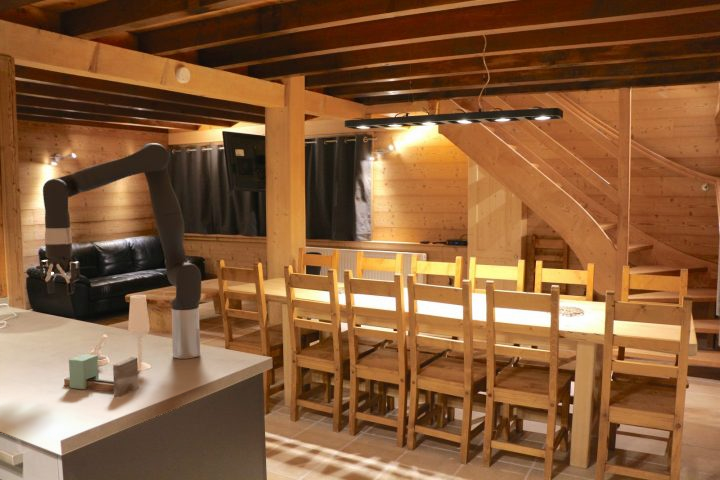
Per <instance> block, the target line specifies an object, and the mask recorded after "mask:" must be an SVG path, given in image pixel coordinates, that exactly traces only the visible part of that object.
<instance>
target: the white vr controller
mask: <svg viewBox="0 0 720 480" xmlns="http://www.w3.org/2000/svg"><path fill="white" fill-rule="evenodd" d="M107 339H108V336H107V334H103V335H102V336H101V337H100V339H99V340H98V342H97V343H96V345H95V347H94V348H93V349H92V350H91V352H90V353H89V355H98V367H99V366H100V367H101V366H105V365H107V364H109V363H110V362H111V361H110V359H109V357H108V356H107V355H102V353H101V348H102V346H103V345H104V344H105V342H106V341H107Z"/></svg>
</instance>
